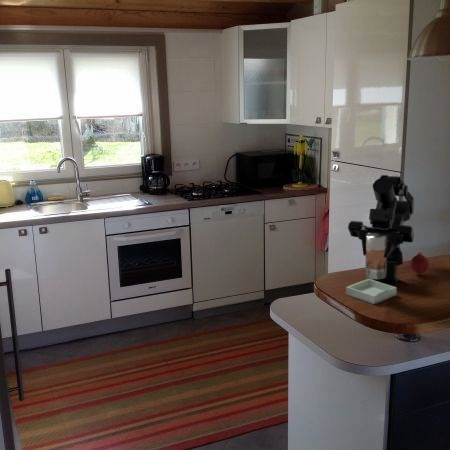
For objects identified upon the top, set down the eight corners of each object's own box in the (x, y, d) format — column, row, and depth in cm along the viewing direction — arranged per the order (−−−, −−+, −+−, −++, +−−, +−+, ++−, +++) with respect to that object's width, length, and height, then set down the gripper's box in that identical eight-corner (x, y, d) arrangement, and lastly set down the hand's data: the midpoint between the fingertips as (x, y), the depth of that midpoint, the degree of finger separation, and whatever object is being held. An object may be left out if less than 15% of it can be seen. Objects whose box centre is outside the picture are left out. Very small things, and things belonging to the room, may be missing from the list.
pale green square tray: (368, 286, 174) (368, 278, 173) (396, 295, 166) (396, 287, 165) (346, 294, 168) (346, 286, 167) (373, 304, 160) (374, 296, 159)
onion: (429, 278, 178) (430, 255, 177) (411, 277, 180) (412, 254, 178) (426, 272, 184) (427, 249, 182) (408, 271, 185) (409, 249, 183)
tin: (380, 271, 167) (381, 232, 164) (390, 277, 161) (391, 237, 158) (361, 273, 166) (362, 234, 163) (371, 280, 160) (372, 239, 157)
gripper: (349, 195, 165) (338, 240, 159) (413, 199, 156) (404, 246, 150) (356, 214, 174) (346, 257, 168) (417, 218, 165) (408, 264, 159)
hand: (375, 256), depth 161 cm, fingers closed on tin, 6 cm apart
